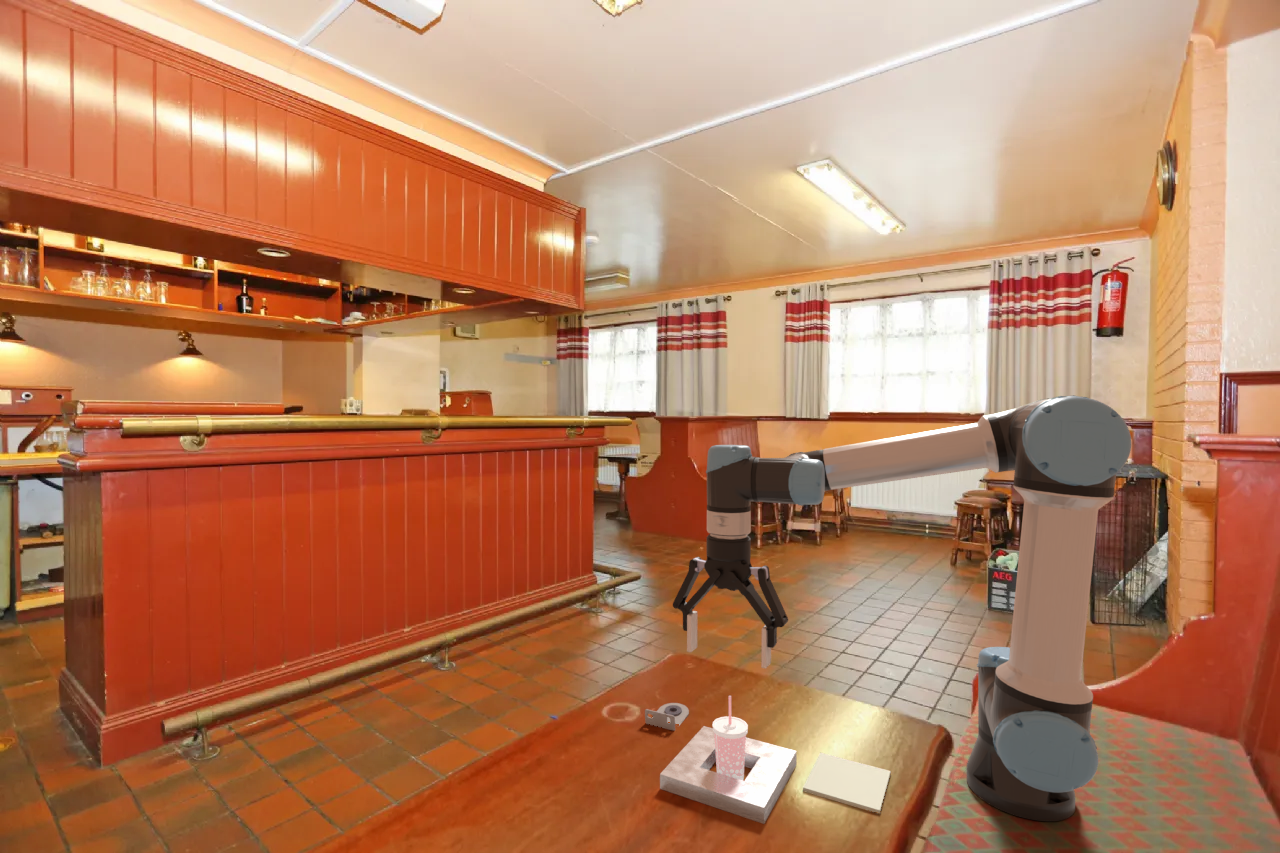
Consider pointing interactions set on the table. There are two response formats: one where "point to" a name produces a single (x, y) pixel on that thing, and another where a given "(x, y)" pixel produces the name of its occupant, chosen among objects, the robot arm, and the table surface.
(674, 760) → the white square frame
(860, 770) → the beige pad
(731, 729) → the beverage cup
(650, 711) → the bracket
